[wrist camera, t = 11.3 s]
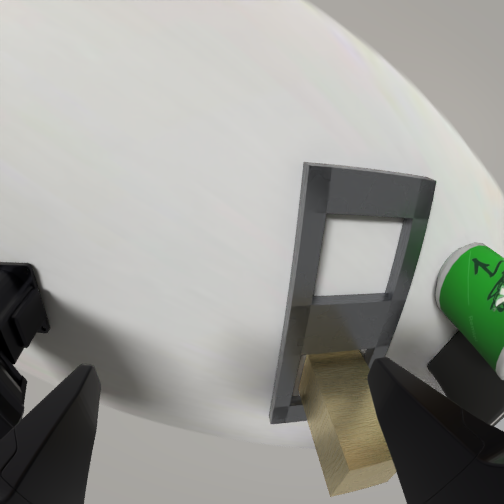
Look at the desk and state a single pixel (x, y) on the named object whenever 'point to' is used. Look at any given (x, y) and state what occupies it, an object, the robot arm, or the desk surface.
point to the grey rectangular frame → (346, 306)
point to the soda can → (475, 299)
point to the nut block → (344, 422)
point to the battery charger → (469, 380)
